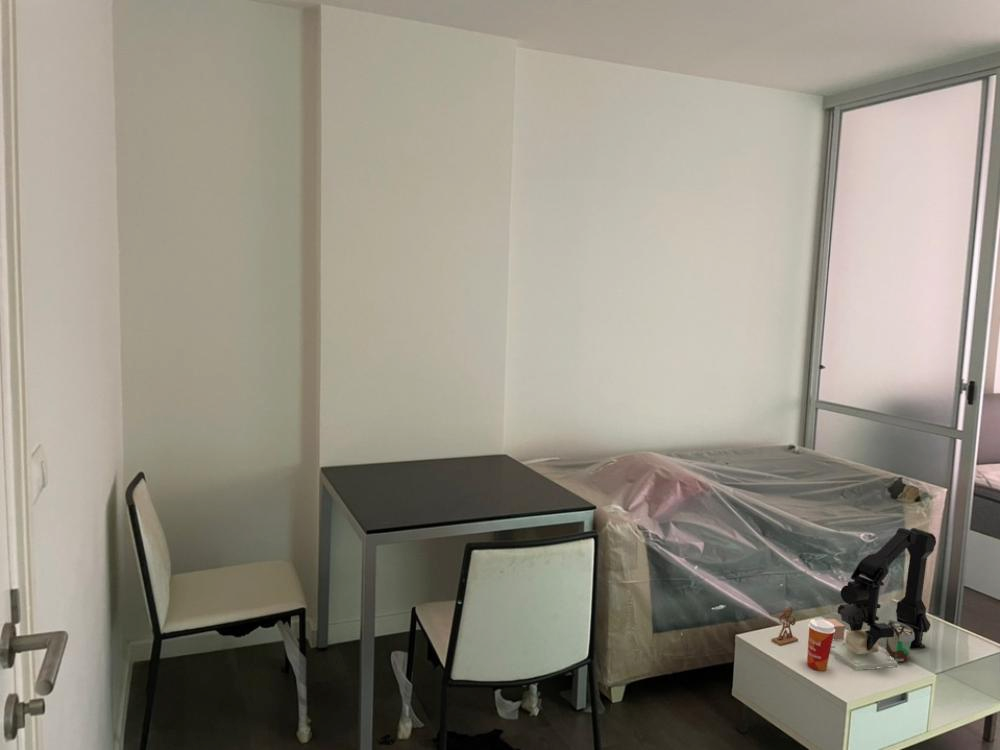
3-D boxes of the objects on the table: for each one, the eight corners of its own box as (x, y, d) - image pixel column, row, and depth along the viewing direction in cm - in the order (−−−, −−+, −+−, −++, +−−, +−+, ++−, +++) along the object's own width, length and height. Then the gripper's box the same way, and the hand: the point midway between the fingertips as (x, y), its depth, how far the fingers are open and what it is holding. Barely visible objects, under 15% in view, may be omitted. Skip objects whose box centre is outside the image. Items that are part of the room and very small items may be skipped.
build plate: (864, 645, 255) (865, 639, 255) (897, 666, 242) (898, 659, 242) (824, 649, 251) (825, 642, 251) (855, 670, 238) (856, 663, 237)
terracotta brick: (832, 632, 264) (834, 618, 264) (843, 640, 259) (845, 626, 259) (812, 633, 262) (814, 619, 262) (823, 641, 257) (824, 627, 256)
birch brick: (865, 644, 250) (867, 629, 249) (877, 652, 245) (879, 637, 244) (844, 645, 248) (846, 631, 247) (857, 654, 242) (859, 638, 242)
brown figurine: (788, 636, 258) (792, 602, 257) (798, 641, 255) (802, 606, 254) (770, 641, 254) (774, 606, 253) (780, 646, 251) (784, 611, 249)
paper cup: (798, 660, 242) (804, 617, 240) (822, 660, 242) (827, 618, 241) (811, 672, 234) (816, 629, 232) (835, 673, 235) (840, 629, 233)
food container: (916, 668, 242) (921, 638, 241) (895, 665, 243) (899, 635, 242) (904, 650, 254) (908, 622, 253) (884, 647, 255) (888, 619, 254)
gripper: (826, 588, 251) (820, 634, 253) (869, 613, 233) (862, 662, 235) (854, 587, 254) (848, 632, 256) (898, 611, 236) (891, 659, 238)
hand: (861, 645), depth 246 cm, fingers closed on birch brick, 5 cm apart
